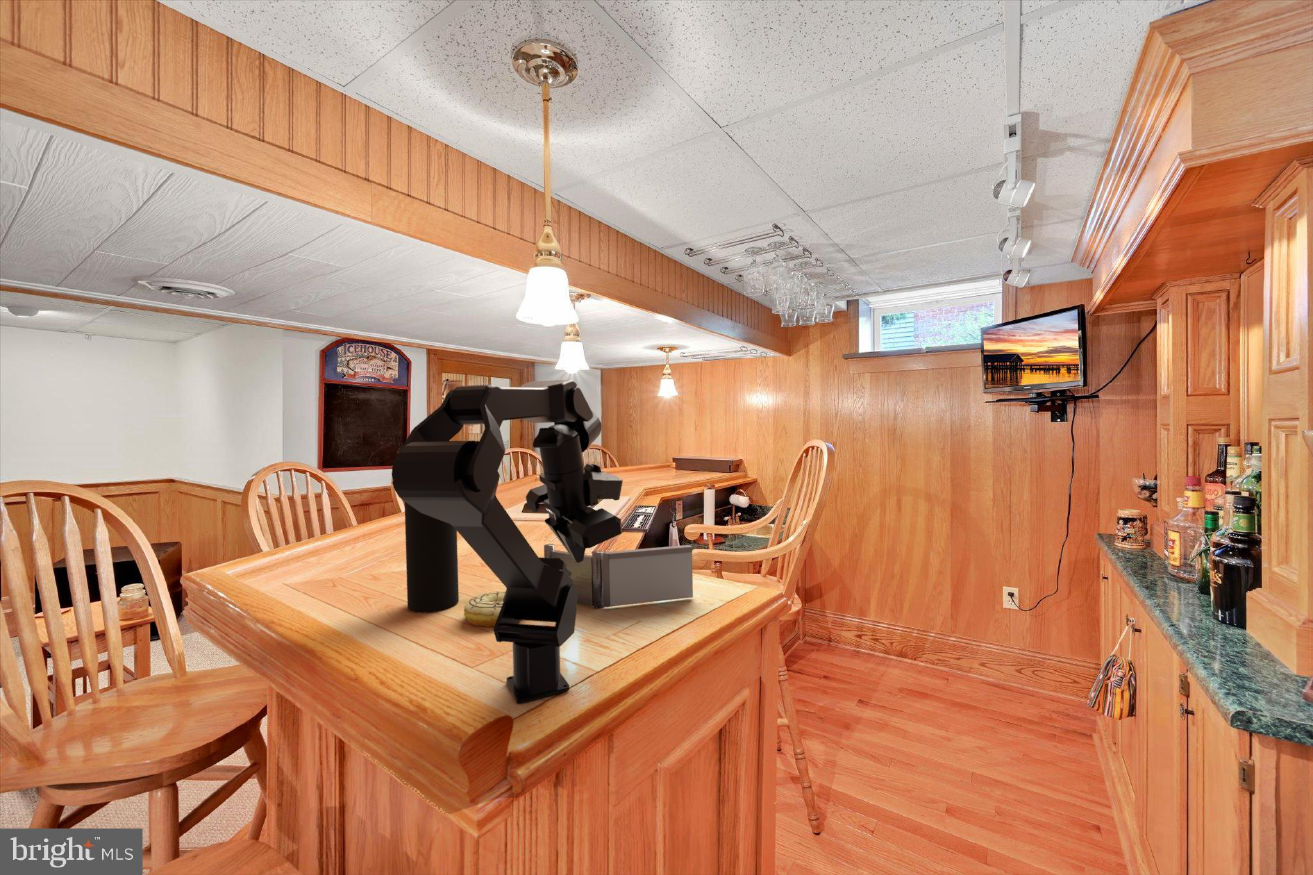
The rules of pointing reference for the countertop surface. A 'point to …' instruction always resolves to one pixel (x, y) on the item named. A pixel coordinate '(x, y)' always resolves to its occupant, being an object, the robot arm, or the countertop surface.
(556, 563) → the robot arm
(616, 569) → the gate leaf
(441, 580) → the bottle
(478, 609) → the decorated donut
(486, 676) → the countertop surface
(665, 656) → the countertop surface
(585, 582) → the gate frame
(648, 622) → the countertop surface
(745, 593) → the countertop surface
